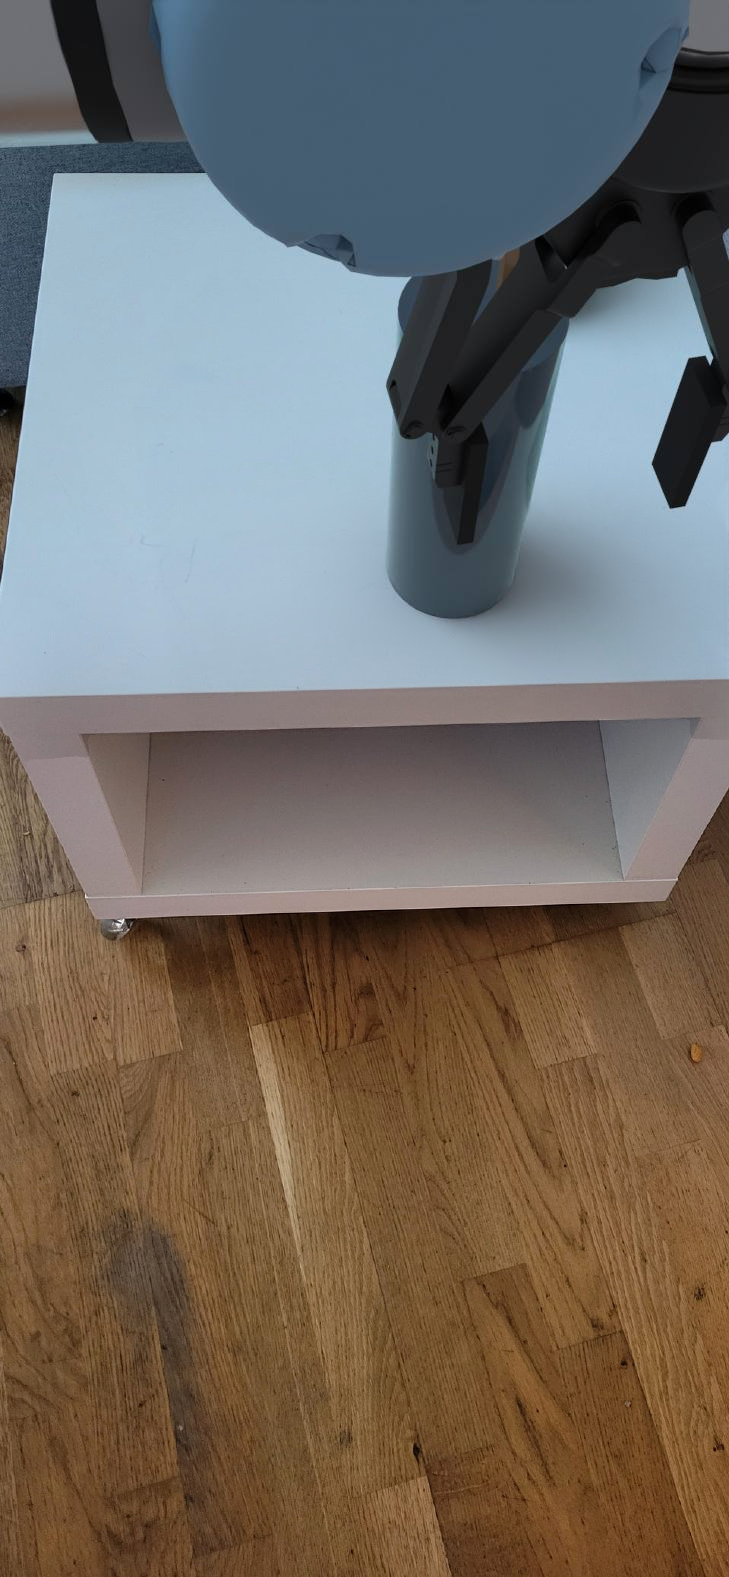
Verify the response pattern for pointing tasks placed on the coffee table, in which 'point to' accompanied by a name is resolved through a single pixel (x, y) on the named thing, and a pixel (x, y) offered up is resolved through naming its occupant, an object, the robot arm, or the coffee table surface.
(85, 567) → the coffee table surface
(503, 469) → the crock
